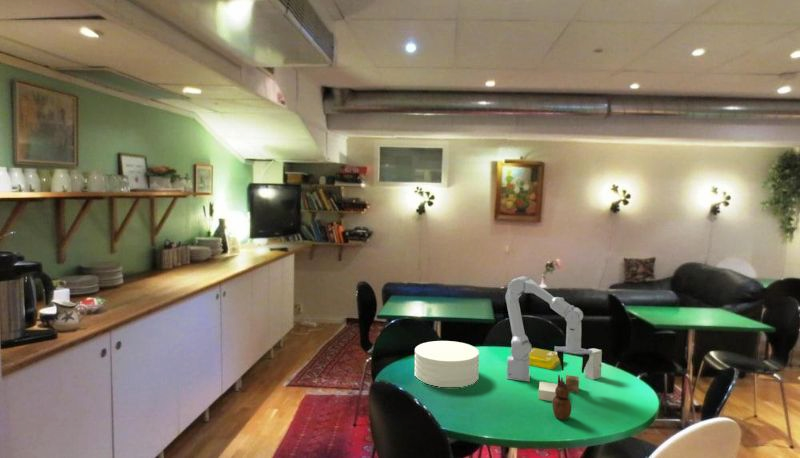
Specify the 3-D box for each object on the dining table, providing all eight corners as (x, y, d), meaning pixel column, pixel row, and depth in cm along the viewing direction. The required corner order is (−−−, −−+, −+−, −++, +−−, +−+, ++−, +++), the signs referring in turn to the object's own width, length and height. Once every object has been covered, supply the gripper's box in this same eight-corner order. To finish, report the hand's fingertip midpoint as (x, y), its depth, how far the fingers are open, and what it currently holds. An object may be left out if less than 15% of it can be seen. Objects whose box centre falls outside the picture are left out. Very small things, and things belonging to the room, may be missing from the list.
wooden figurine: (549, 413, 172) (550, 373, 171) (565, 413, 172) (566, 372, 171) (557, 422, 165) (558, 380, 164) (573, 421, 165) (574, 379, 164)
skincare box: (593, 380, 204) (594, 352, 203) (584, 376, 208) (585, 349, 207) (601, 377, 207) (602, 350, 207) (592, 374, 211) (593, 347, 210)
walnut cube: (565, 391, 192) (565, 379, 192) (565, 386, 197) (565, 375, 196) (578, 393, 190) (578, 380, 190) (578, 388, 195) (578, 376, 195)
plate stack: (405, 382, 200) (405, 355, 199) (426, 361, 226) (426, 338, 225) (469, 393, 189) (470, 365, 189) (484, 370, 215) (485, 345, 215)
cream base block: (538, 399, 184) (538, 389, 184) (539, 391, 192) (539, 381, 192) (562, 403, 181) (563, 393, 181) (562, 394, 190) (562, 384, 189)
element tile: (532, 355, 237) (532, 346, 236) (562, 362, 228) (562, 352, 228) (520, 363, 225) (521, 354, 224) (552, 371, 216) (552, 360, 216)
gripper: (554, 339, 191) (553, 371, 192) (593, 342, 186) (592, 376, 187) (555, 334, 198) (554, 366, 198) (592, 338, 193) (591, 370, 194)
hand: (572, 370), depth 193 cm, fingers open, 7 cm apart
